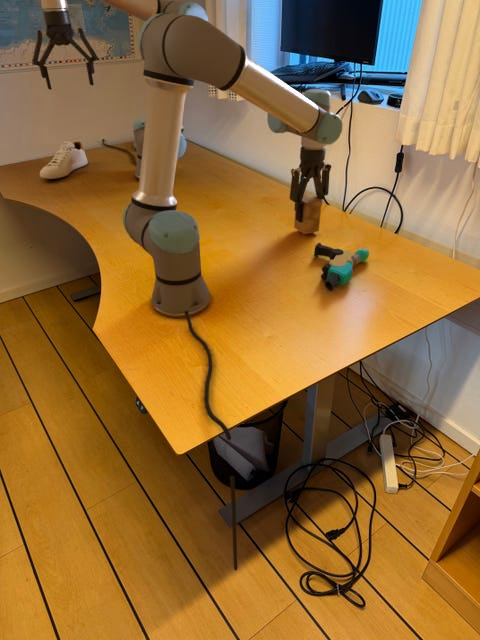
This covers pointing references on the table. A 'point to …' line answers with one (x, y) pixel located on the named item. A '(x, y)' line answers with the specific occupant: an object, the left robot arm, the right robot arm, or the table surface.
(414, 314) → the table surface
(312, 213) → the brick
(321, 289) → the table surface
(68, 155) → the sneaker
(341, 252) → the toy gun
